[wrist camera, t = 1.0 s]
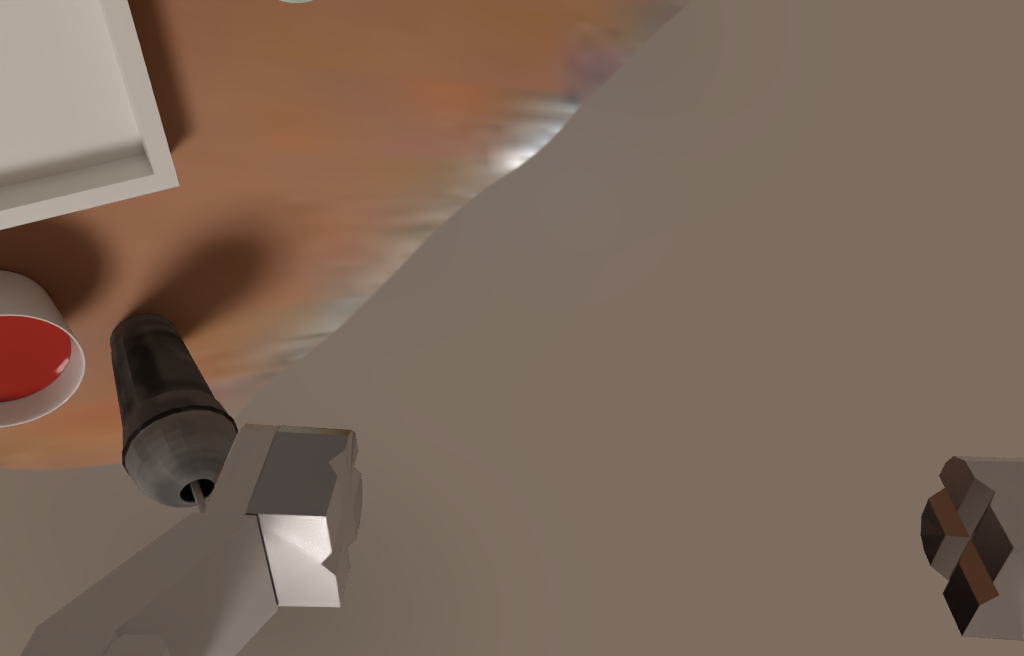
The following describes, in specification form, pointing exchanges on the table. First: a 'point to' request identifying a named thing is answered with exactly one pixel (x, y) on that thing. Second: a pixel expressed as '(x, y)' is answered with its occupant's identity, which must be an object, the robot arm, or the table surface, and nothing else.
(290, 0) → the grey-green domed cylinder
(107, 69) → the tray
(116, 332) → the beverage cup
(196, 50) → the table surface
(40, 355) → the candle
